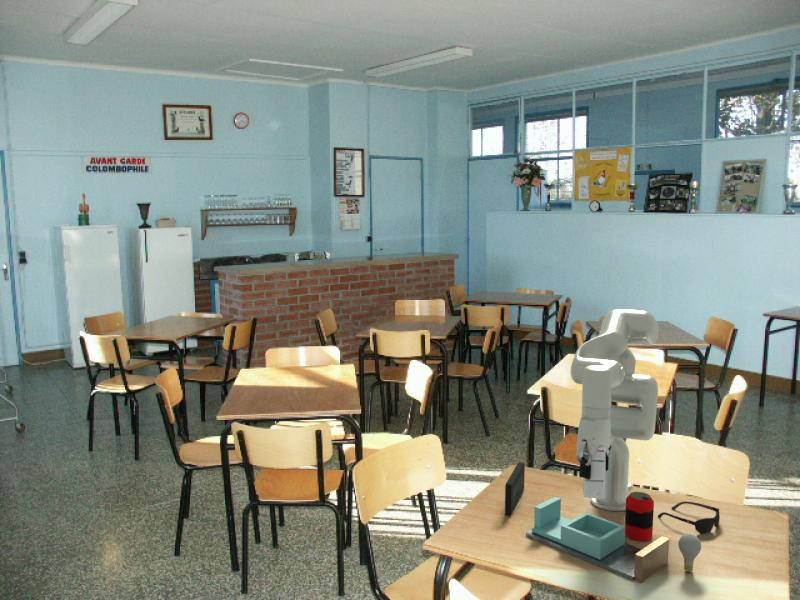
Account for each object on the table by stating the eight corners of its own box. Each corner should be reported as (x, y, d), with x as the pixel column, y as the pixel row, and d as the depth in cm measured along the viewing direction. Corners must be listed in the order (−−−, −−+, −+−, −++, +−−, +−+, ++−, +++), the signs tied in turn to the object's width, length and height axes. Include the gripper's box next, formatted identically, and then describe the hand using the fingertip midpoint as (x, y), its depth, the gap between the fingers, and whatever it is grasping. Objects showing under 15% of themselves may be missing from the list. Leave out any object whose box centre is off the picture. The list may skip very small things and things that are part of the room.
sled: (556, 518, 215) (557, 495, 214) (624, 544, 199) (625, 519, 198) (531, 531, 207) (532, 507, 206) (600, 559, 191) (600, 534, 190)
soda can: (638, 544, 202) (640, 503, 200) (618, 533, 208) (620, 493, 207) (658, 538, 205) (660, 498, 204) (638, 527, 212) (639, 488, 210)
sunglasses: (703, 538, 205) (704, 522, 205) (652, 520, 217) (653, 504, 216) (725, 524, 214) (726, 508, 214) (674, 507, 226) (675, 492, 225)
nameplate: (510, 516, 220) (511, 485, 218) (504, 515, 220) (505, 484, 219) (524, 490, 239) (524, 461, 238) (518, 489, 240) (519, 460, 238)
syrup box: (605, 499, 194) (607, 447, 192) (582, 497, 196) (584, 446, 193) (603, 490, 200) (605, 440, 198) (581, 489, 201) (583, 439, 199)
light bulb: (673, 566, 189) (675, 530, 188) (693, 565, 190) (695, 529, 188) (683, 577, 184) (685, 540, 183) (703, 576, 185) (705, 539, 183)
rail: (556, 519, 217) (557, 497, 216) (668, 563, 191) (670, 538, 190) (525, 535, 207) (526, 512, 206) (640, 583, 181) (641, 557, 180)
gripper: (601, 401, 203) (599, 461, 205) (565, 415, 191) (563, 478, 194) (625, 407, 197) (623, 468, 200) (590, 422, 185) (587, 486, 188)
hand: (593, 473), depth 197 cm, fingers closed on syrup box, 7 cm apart
